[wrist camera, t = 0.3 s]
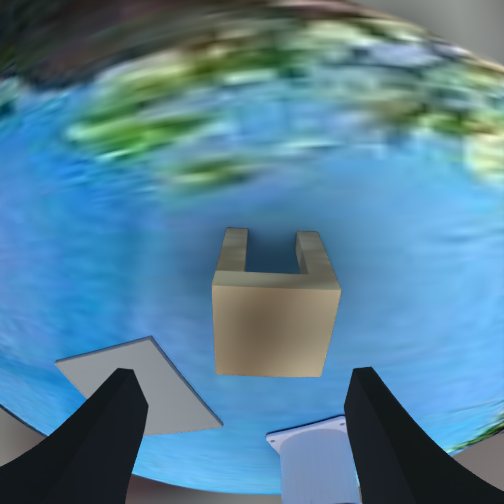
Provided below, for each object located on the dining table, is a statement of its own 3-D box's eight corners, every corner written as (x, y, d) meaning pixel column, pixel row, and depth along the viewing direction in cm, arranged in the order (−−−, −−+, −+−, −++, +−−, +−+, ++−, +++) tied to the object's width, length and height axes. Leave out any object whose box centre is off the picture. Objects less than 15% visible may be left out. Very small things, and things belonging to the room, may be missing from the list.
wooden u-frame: (317, 231, 18) (341, 290, 12) (306, 306, 20) (320, 376, 15) (226, 227, 18) (211, 285, 12) (226, 303, 20) (215, 373, 15)
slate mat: (223, 423, 26) (222, 426, 26) (128, 433, 29) (127, 436, 28) (151, 336, 22) (149, 339, 21) (56, 360, 24) (54, 363, 24)
